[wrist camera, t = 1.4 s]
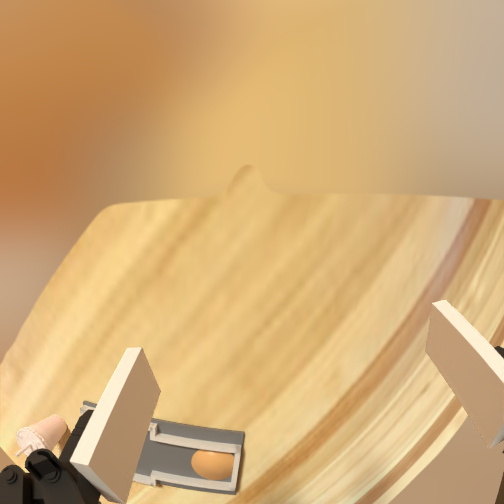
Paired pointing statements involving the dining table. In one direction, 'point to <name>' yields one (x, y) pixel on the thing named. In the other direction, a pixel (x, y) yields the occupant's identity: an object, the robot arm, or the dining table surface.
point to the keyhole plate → (188, 456)
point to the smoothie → (41, 435)
